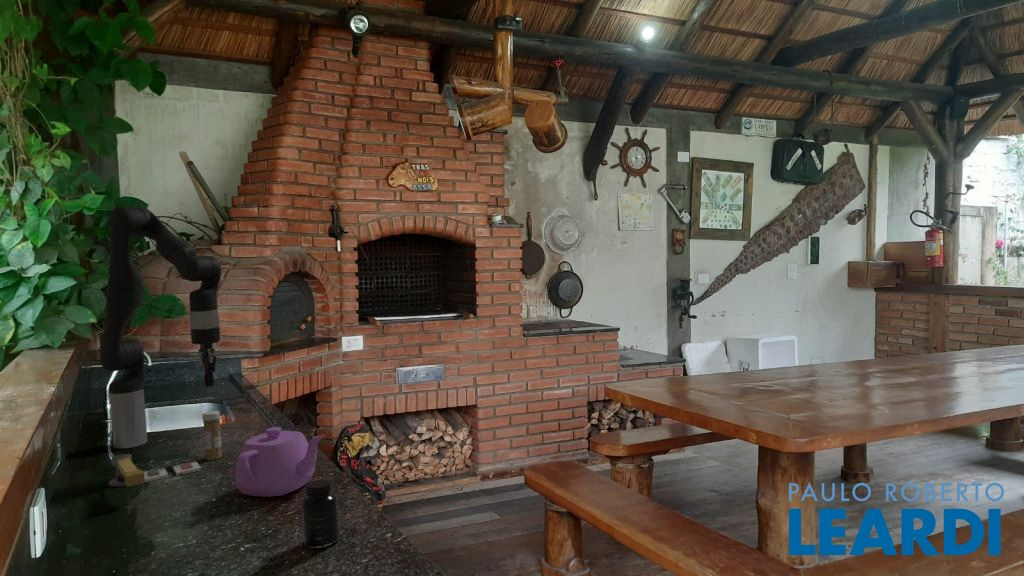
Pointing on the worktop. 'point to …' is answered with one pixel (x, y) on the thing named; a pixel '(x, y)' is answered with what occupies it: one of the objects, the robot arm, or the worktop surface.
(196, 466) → the label tile
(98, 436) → the worktop surface
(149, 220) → the robot arm
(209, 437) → the sprinkles bottle
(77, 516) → the worktop surface
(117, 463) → the swing bar
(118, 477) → the post
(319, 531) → the supplement bottle
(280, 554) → the worktop surface
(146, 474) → the label tile
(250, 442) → the teapot
